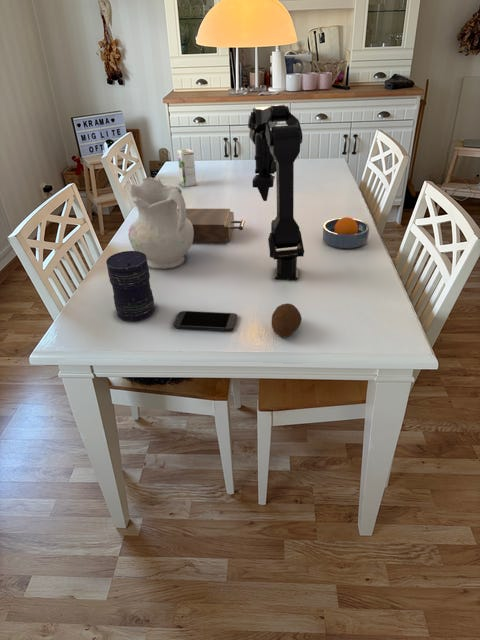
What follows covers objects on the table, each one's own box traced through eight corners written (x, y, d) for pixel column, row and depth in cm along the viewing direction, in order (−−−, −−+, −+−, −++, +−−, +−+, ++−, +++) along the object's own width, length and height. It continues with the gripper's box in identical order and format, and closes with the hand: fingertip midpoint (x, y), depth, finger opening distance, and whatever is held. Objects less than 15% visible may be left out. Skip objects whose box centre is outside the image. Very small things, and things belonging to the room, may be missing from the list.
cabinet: (231, 226, 170) (230, 208, 167) (225, 243, 158) (224, 224, 155) (179, 226, 172) (177, 208, 169) (170, 243, 160) (167, 224, 157)
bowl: (369, 250, 150) (371, 235, 147) (323, 249, 151) (324, 235, 149) (365, 232, 161) (366, 218, 159) (322, 232, 163) (322, 217, 160)
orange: (357, 246, 153) (360, 227, 147) (333, 245, 154) (335, 226, 148) (355, 231, 158) (359, 212, 152) (333, 230, 159) (335, 212, 153)
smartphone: (179, 312, 123) (179, 309, 123) (237, 315, 121) (237, 312, 121) (172, 328, 117) (171, 325, 117) (233, 332, 115) (233, 329, 115)
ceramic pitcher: (214, 260, 151) (211, 179, 139) (176, 282, 136) (169, 194, 124) (159, 247, 160) (152, 171, 148) (118, 267, 146) (107, 184, 134)
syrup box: (180, 183, 214) (176, 150, 206) (192, 181, 216) (189, 148, 208) (184, 187, 210) (180, 153, 202) (197, 184, 212) (194, 150, 204)
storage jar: (114, 306, 127) (103, 255, 119) (150, 298, 130) (142, 247, 122) (120, 325, 120) (108, 272, 111) (158, 316, 122) (150, 263, 114)
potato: (301, 318, 119) (302, 293, 115) (301, 343, 110) (302, 317, 107) (273, 317, 120) (273, 292, 116) (270, 341, 111) (270, 316, 108)
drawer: (246, 224, 169) (245, 211, 166) (242, 240, 158) (241, 226, 155) (185, 224, 171) (183, 211, 169) (176, 239, 160) (175, 226, 157)
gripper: (290, 159, 139) (289, 211, 147) (291, 143, 154) (291, 191, 163) (251, 159, 140) (253, 211, 149) (257, 143, 156) (258, 191, 164)
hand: (265, 200), depth 156 cm, fingers closed
